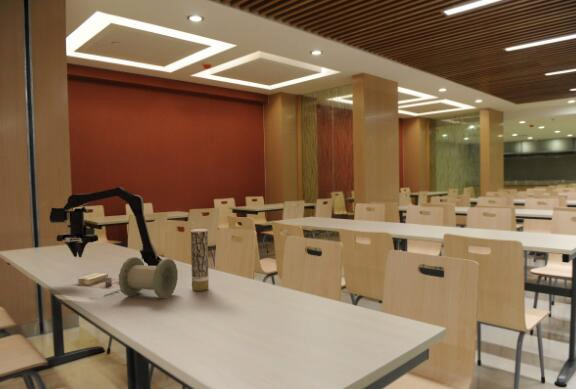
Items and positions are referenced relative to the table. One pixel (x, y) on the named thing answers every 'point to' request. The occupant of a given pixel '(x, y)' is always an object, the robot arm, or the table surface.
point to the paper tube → (199, 259)
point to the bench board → (103, 283)
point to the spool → (148, 277)
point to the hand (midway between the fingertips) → (77, 257)
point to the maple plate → (92, 279)
